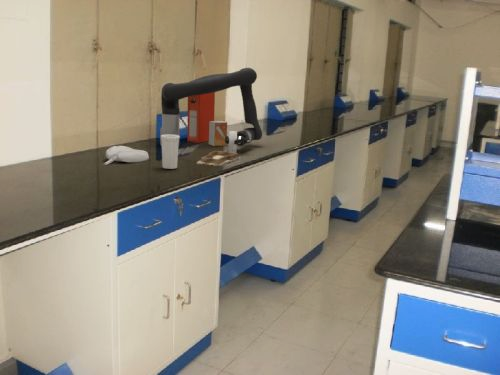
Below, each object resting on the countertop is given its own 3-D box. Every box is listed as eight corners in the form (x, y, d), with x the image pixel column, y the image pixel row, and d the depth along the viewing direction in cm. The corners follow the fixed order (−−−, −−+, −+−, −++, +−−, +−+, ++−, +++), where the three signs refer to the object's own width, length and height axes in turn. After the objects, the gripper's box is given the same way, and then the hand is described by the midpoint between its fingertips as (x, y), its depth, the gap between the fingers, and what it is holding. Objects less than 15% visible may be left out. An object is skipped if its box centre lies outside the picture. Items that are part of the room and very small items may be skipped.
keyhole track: (196, 163, 253) (196, 157, 252) (215, 156, 273) (215, 150, 272) (220, 166, 249) (221, 160, 248) (237, 158, 269) (238, 153, 268)
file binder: (186, 141, 312) (187, 84, 304) (201, 138, 327) (203, 83, 319) (199, 143, 308) (200, 85, 301) (213, 139, 324) (215, 84, 316)
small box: (214, 146, 301) (214, 122, 298) (208, 144, 306) (209, 121, 303) (226, 145, 306) (227, 122, 303) (221, 143, 311) (221, 120, 308)
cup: (170, 170, 235) (171, 137, 232) (156, 168, 239) (156, 135, 236) (182, 168, 242) (183, 135, 239) (168, 165, 246) (169, 133, 243)
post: (227, 155, 277) (228, 131, 274) (230, 153, 281) (230, 130, 278) (234, 155, 276) (235, 132, 273) (237, 154, 280) (238, 131, 277)
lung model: (153, 158, 260) (122, 173, 238) (122, 155, 266) (90, 169, 244) (152, 145, 258) (121, 158, 236) (121, 142, 264) (88, 154, 242)
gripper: (230, 129, 291) (217, 133, 275) (255, 131, 287) (244, 135, 271) (229, 143, 293) (217, 148, 277) (254, 146, 288) (243, 150, 273)
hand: (230, 142), depth 274 cm, fingers closed on post, 4 cm apart
